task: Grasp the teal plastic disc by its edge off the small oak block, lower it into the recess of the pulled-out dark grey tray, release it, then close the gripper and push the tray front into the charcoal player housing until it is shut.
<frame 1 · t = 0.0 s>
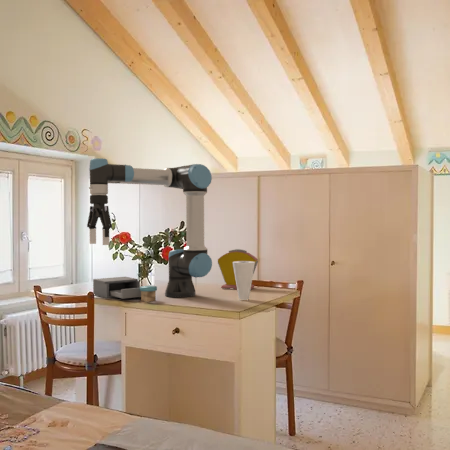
hand: (99, 244, 235), 28 cm above the table, fingers open, 13 cm apart
electronic device: (178, 282, 334), on the table
disc: (148, 290, 259), point 5 cm above the table, touching pedestal
housing: (116, 294, 279), on the table
yellow arched part: (237, 288, 302), on the table
tray: (128, 291, 268), point 3 cm above the table, slide at 12.0 cm
pedestal: (148, 300, 259), on the table
cup: (243, 300, 261), on the table
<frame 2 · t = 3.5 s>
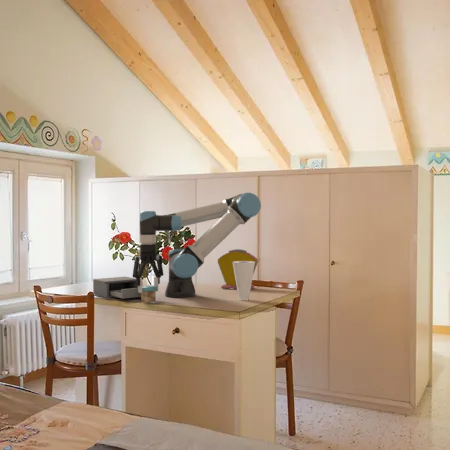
hand: (148, 291, 259), 4 cm above the table, fingers closed on disc, 8 cm apart
disc: (148, 290, 259), point 5 cm above the table, touching gripper, pedestal
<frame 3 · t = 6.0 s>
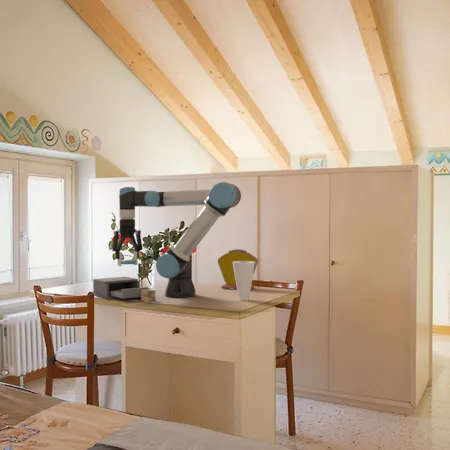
hand: (127, 265, 268), 16 cm above the table, fingers closed on disc, 8 cm apart
disc: (127, 263, 268), point 17 cm above the table, touching gripper
when the fingers open (4 cm above the table, at t = 8.5 s): disc drops 3 cm, resting on tray.
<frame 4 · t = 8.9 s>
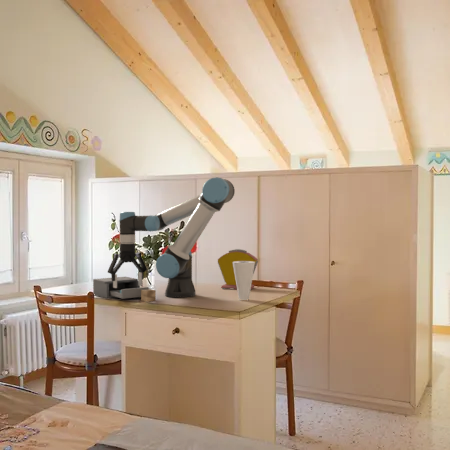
hand: (127, 286, 268), 5 cm above the table, fingers open, 13 cm apart
disc: (127, 293, 268), point 2 cm above the table, touching tray
tray: (128, 291, 268), point 3 cm above the table, slide at 12.0 cm, touching disc
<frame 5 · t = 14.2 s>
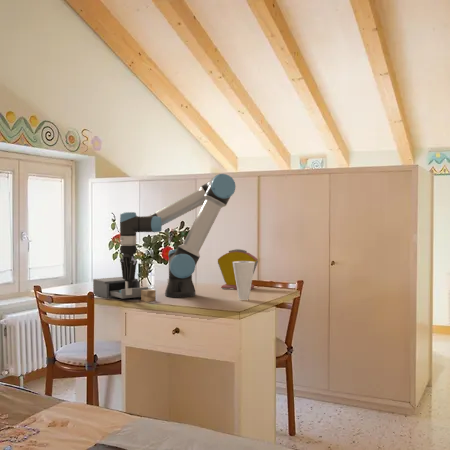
hand: (128, 294, 259), 3 cm above the table, fingers closed
tray: (128, 291, 268), point 3 cm above the table, slide at 11.7 cm, touching disc, gripper
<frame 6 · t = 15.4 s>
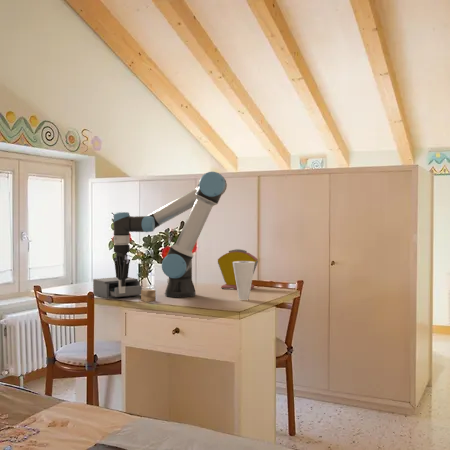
hand: (122, 293, 265), 3 cm above the table, fingers closed
disc: (121, 291, 274), point 2 cm above the table, touching tray
tray: (122, 289, 274), point 3 cm above the table, slide at 4.7 cm, touching disc, gripper
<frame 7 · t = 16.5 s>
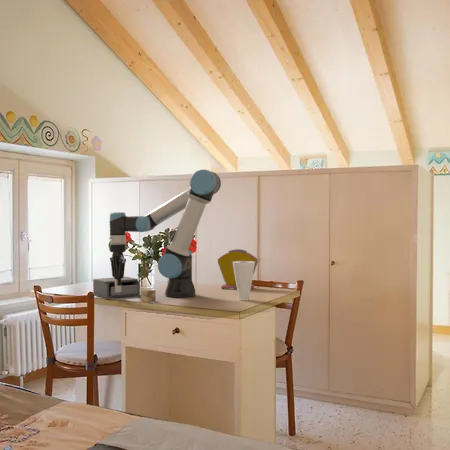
hand: (118, 292, 268), 3 cm above the table, fingers closed
disc: (117, 290, 278), point 2 cm above the table, touching tray
tray: (118, 288, 277), point 3 cm above the table, slide at 0.5 cm, touching disc, gripper
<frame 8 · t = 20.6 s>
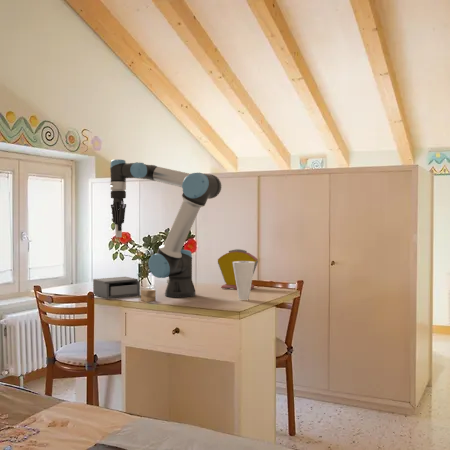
hand: (118, 237, 277), 29 cm above the table, fingers closed
tray: (118, 288, 277), point 3 cm above the table, slide at 0.2 cm, touching disc
at the end: tray slide at 0.2 cm; disc inside the target area on the housing (0.0 cm from its centre), point 2.2 cm above the housing's base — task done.
